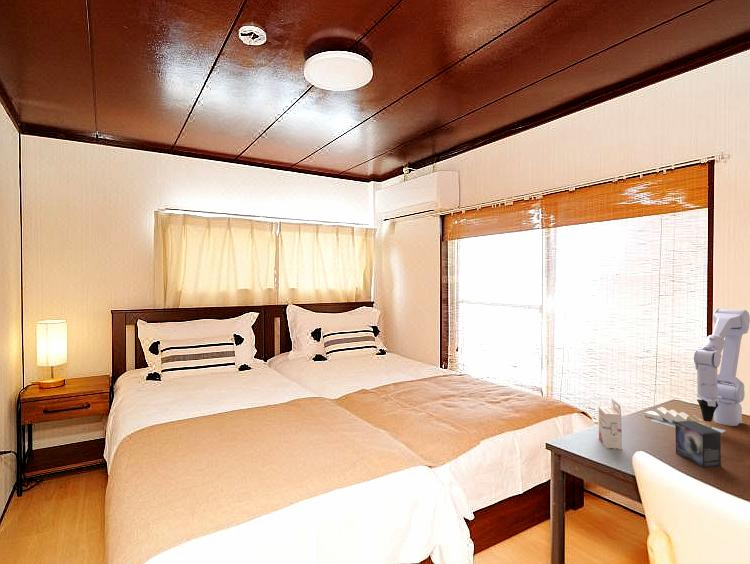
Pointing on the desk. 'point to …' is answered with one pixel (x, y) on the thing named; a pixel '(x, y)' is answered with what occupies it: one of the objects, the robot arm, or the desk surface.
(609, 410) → the ink cartridge box
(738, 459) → the desk surface
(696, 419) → the tile
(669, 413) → the tile
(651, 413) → the tile
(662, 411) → the tile
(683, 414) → the tile
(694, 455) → the small box
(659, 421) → the domino board
